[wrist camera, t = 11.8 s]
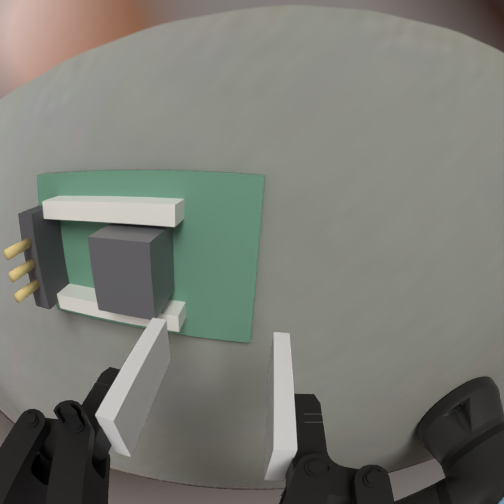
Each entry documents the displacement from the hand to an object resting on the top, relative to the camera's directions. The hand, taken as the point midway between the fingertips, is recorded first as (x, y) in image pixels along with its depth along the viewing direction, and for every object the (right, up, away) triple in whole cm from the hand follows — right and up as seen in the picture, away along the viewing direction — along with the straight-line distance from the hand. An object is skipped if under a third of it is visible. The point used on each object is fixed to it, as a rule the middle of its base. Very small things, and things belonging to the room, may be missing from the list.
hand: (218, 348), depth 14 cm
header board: (-9, +5, +10) cm, 14 cm away
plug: (-7, +5, +10) cm, 13 cm away
